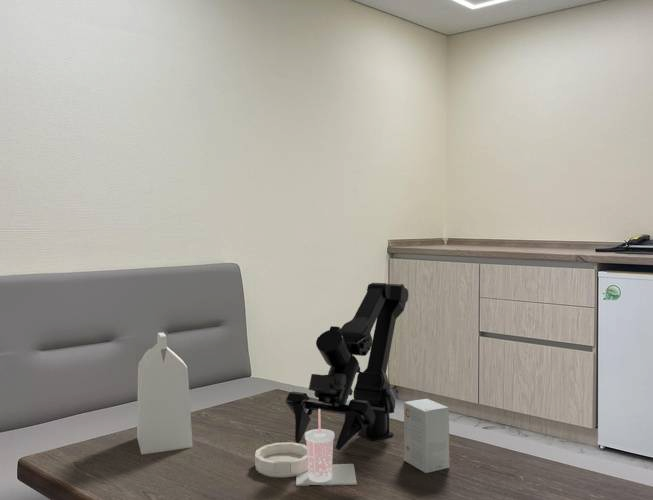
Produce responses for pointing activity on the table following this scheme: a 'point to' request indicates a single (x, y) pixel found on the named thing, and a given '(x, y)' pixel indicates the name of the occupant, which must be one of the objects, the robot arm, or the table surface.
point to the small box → (426, 435)
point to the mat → (340, 476)
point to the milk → (163, 400)
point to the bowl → (281, 459)
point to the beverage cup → (319, 452)
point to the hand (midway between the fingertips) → (316, 445)
